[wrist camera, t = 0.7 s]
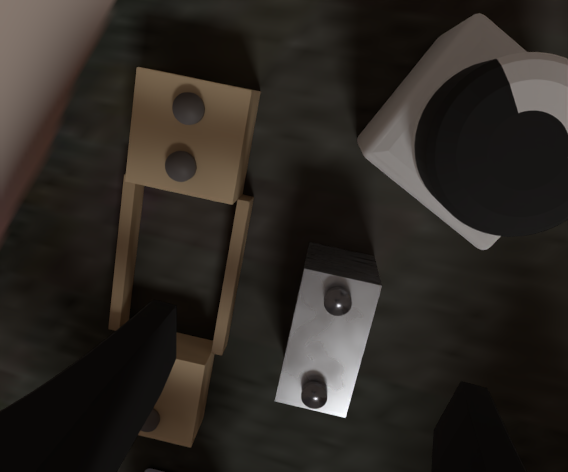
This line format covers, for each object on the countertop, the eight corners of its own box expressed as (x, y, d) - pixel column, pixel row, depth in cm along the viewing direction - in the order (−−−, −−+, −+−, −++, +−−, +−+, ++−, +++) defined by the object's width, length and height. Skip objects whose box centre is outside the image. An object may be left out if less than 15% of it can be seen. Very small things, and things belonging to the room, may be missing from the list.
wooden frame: (213, 420, 33) (199, 454, 30) (110, 395, 34) (86, 427, 31) (272, 93, 27) (264, 93, 24) (145, 67, 28) (120, 63, 24)
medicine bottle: (449, 218, 28) (527, 298, 17) (353, 140, 28) (366, 169, 16) (542, 117, 26) (704, 131, 15) (441, 32, 26) (527, -24, 14)
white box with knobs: (344, 369, 32) (345, 424, 26) (284, 355, 32) (273, 407, 26) (374, 255, 29) (383, 290, 24) (309, 241, 30) (303, 272, 24)
